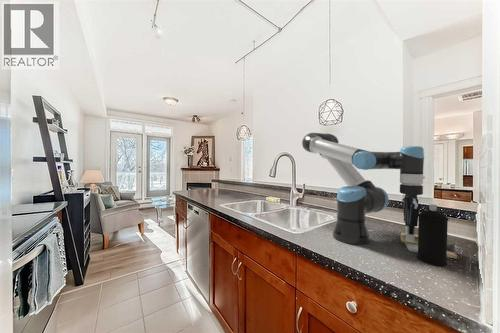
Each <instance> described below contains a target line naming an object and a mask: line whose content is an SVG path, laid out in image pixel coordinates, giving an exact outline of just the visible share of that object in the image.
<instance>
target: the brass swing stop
mask: <svg viewBox="0 0 500 333" xmlns="http://www.w3.org/2000/svg"><path fill="white" fill-rule="evenodd" d="M400 240H401V242H403V243H404V242H407V241H405V232H400ZM407 243H414V244H418V234H415V238H414V242H407Z"/></svg>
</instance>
